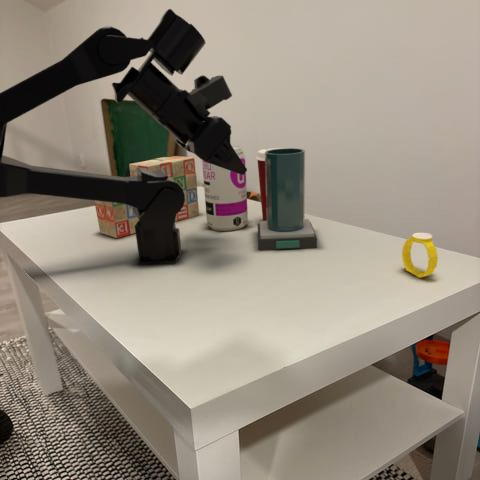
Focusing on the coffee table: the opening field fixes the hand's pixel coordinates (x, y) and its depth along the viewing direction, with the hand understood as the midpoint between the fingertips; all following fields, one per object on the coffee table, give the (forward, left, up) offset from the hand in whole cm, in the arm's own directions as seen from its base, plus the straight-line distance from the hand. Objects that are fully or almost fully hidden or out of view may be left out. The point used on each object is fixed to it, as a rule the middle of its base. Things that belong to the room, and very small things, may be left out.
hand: (236, 168), depth 84 cm
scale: (+8, +3, -14) cm, 16 cm away
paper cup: (+7, +15, -14) cm, 21 cm away
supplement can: (-3, +14, -14) cm, 20 cm away
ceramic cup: (+8, +3, -11) cm, 14 cm away
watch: (+26, -16, -14) cm, 34 cm away
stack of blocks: (-19, +18, -14) cm, 29 cm away
